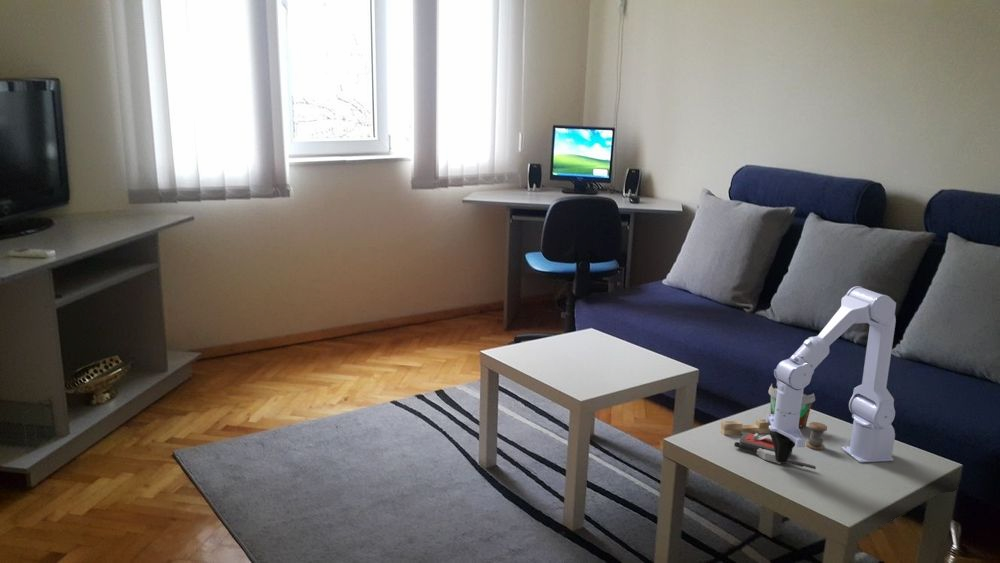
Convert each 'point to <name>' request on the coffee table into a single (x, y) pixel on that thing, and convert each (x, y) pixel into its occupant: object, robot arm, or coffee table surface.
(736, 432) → the notched board
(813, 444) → the bobbin
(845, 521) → the coffee table surface
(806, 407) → the food container
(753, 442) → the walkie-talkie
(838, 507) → the coffee table surface
